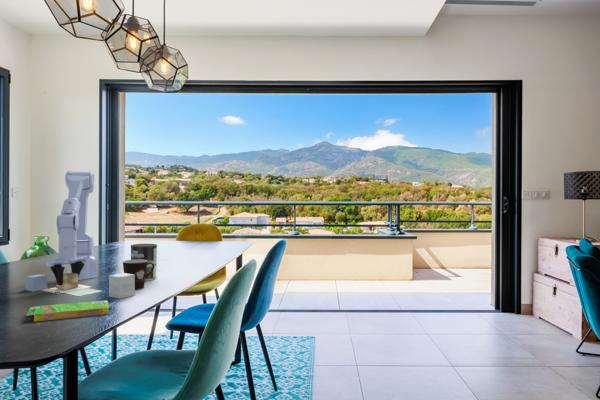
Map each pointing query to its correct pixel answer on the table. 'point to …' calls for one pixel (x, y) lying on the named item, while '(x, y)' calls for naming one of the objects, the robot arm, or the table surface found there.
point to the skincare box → (121, 285)
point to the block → (69, 281)
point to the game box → (69, 310)
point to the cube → (35, 282)
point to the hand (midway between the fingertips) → (67, 283)
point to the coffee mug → (137, 271)
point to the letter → (67, 289)
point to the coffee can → (146, 257)
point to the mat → (83, 292)
